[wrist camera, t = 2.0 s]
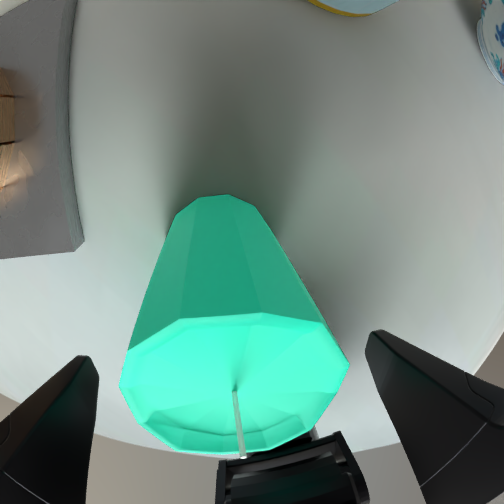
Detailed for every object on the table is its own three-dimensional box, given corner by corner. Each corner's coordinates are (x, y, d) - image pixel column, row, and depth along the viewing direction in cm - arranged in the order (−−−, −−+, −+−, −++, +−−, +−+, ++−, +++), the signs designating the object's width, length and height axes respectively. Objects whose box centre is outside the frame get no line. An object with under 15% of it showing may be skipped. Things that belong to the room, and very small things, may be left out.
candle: (226, 309, 18) (254, 500, 7) (145, 255, 15) (74, 452, 5) (293, 238, 16) (413, 411, 5) (210, 170, 14) (212, 302, 3)
